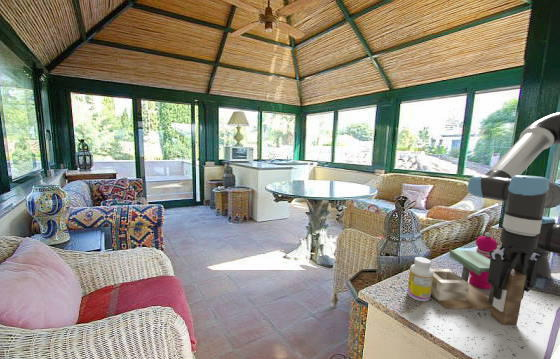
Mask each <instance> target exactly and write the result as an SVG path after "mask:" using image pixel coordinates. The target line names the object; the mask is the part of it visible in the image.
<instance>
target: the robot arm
mask: <svg viewBox="0 0 560 359" xmlns="http://www.w3.org/2000/svg"><path fill="white" fill-rule="evenodd" d="M553 145H560V111H559V112H555V113H551V114H549V115H546V116H544V117H542V118H540V119H538V120H536V121H534V122H532V123H531V124H529V125H528V126H527V127H525V128H524V129H523V131H521V133H520V134H519V139H518V140H517V141H516V142H515V143H514V145H513V146H511V147H510V148H509V150H508V151H507V152H506V153H505V154H504V155H503V156H502V157H501V158H499V160H498V161H497V162H496V163H495V164H494V165H493V166H492V167H491V169H489V171H488V172H486V173H485V174H484V175H483V174H475V175H472V176H471V177H470V178H469V181H468V184H467V190H468V192H469V194H470V195H471V196H475V197H478V198H482V199H487V200H488V199H489V200H493V201H494V200H495V201H500V202H506V204H505V210H504V216H503V221H502V227H503V228H502V229H501V232H500V237H499V241H500V242H501V246H500V248H499V250H494V251H490V252H489V254H490V258H491V259H490V267H489V274H488V283H490V284H491V285H493V286H494V291H493V297H494V300H493V305H492V306H494V307H495V308H496V309H498V310H499V311H501V312H503V310H504V305H505V299H506V294H507V290H505V286H506V284H507V281H508V279H509V274H510V273H511V271H512V269H514V270H515V271H517V272H519V273H521V274H524V275H526V279H525V284H524V289H523V295H522V300H523V299H524V296H525V292H527V293H528V292H529V291H530V290H531V289H532V288H534V285H535V282H536V278H538V279H539V278H540V279H549V278H551V276H552V269H551V266H550V261H549V253H553V254H556V255H559V256H560V223H558V222H557V220H556V219H555V218H553V217H550V216H545V215H544V211H545V209H552V208H556V207H558V206H560V184H559V183H555V182H551V181H550V179H549V178H547V177H544V176H536V175H527V174H526V175H525V174H524V175H523V173H524V172H525V171H526V170H527V168H528V167H529V166H530V165H531V164H532V163H533V161H534V160H535V159H536V158H538V156H539V155H540V154H541V153H542V152H543V151H544V150H546V149H549V148H550V147H551V146H553Z"/></svg>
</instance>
